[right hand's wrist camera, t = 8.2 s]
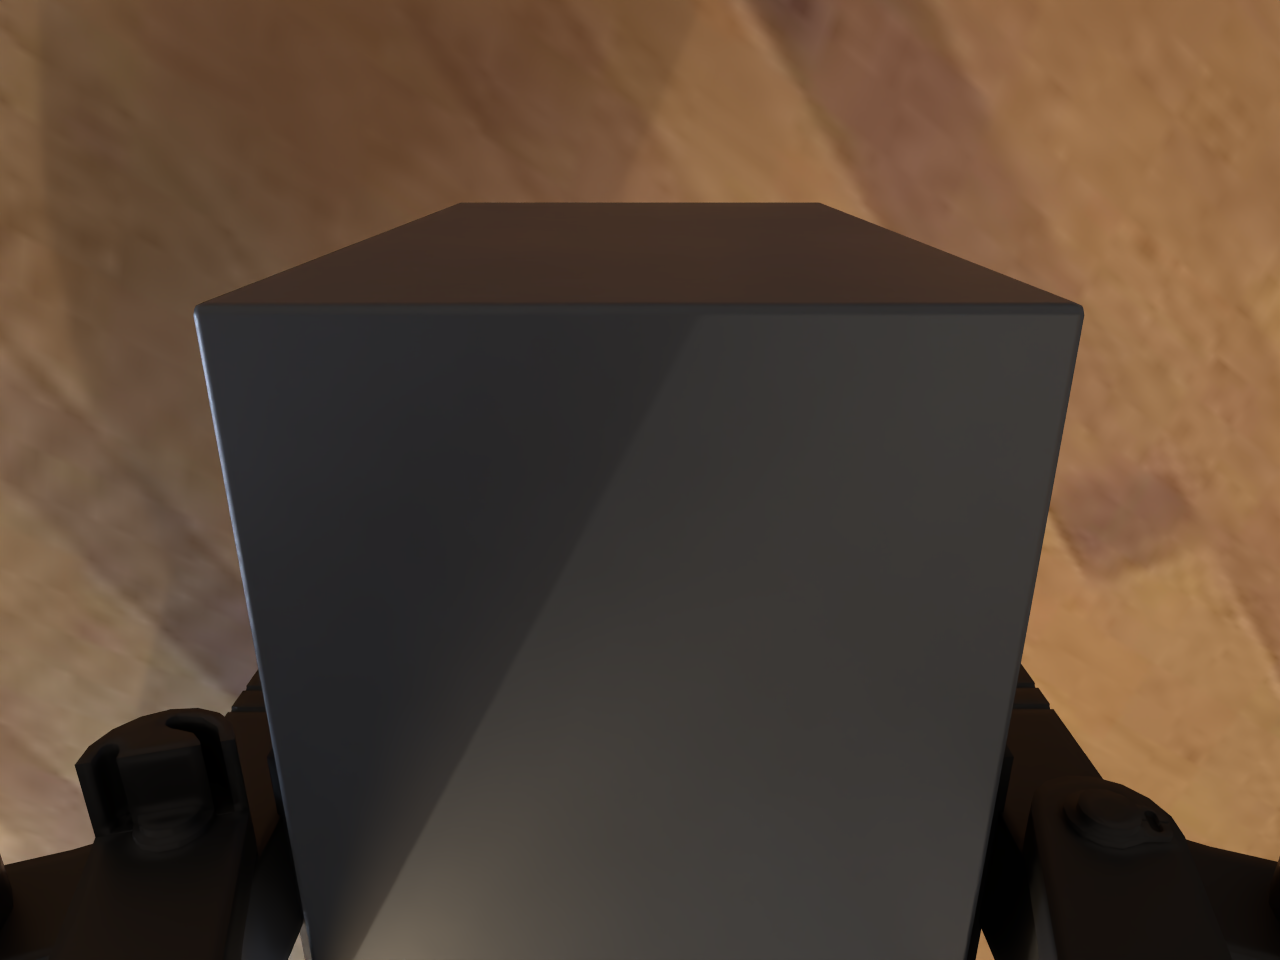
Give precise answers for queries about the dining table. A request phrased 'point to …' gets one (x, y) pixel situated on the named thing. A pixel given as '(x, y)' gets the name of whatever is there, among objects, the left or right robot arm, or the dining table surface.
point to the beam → (639, 576)
